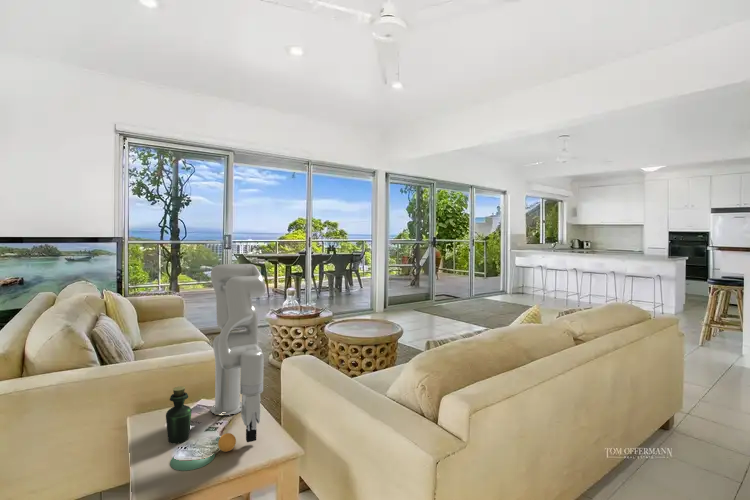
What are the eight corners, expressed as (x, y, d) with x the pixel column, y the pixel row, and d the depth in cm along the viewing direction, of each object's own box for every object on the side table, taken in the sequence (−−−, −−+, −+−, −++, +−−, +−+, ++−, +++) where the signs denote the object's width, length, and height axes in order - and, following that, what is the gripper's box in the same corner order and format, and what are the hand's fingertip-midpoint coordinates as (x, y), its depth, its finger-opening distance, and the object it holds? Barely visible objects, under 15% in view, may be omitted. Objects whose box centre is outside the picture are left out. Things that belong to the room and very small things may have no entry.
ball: (229, 427, 133) (237, 440, 134) (214, 438, 130) (222, 451, 131) (232, 432, 128) (240, 446, 129) (216, 444, 126) (224, 458, 127)
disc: (170, 453, 128) (170, 452, 128) (213, 444, 134) (213, 443, 134) (169, 474, 116) (169, 474, 116) (216, 464, 122) (216, 463, 122)
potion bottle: (196, 438, 138) (196, 387, 137) (173, 448, 131) (174, 394, 130) (183, 431, 142) (183, 382, 142) (160, 440, 135) (161, 389, 135)
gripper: (237, 381, 138) (236, 432, 139) (243, 397, 125) (243, 453, 126) (258, 378, 142) (258, 428, 142) (267, 393, 128) (266, 448, 129)
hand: (251, 440), depth 134 cm, fingers closed
